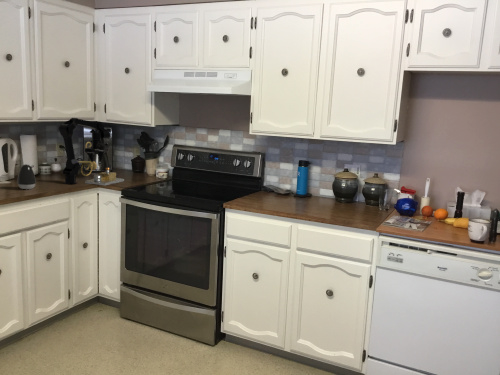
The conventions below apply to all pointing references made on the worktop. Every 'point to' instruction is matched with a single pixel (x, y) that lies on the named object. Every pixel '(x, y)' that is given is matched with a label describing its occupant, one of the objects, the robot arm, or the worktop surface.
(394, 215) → the worktop surface
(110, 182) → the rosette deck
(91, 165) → the wall sconce
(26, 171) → the pump dispenser
